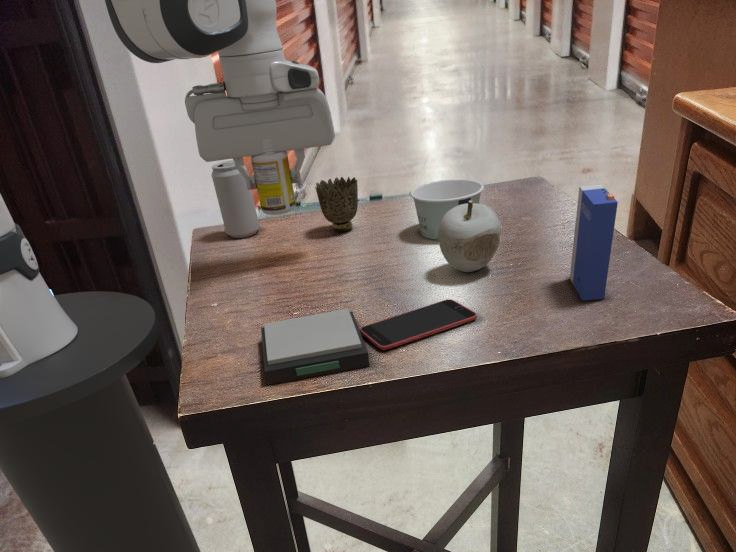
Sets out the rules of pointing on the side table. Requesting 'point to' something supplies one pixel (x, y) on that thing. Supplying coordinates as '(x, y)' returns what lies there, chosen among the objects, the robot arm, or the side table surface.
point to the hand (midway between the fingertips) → (274, 185)
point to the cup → (338, 202)
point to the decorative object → (469, 236)
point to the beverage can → (234, 200)
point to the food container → (442, 201)
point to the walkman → (592, 241)
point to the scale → (312, 346)
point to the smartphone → (417, 324)
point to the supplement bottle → (273, 181)
